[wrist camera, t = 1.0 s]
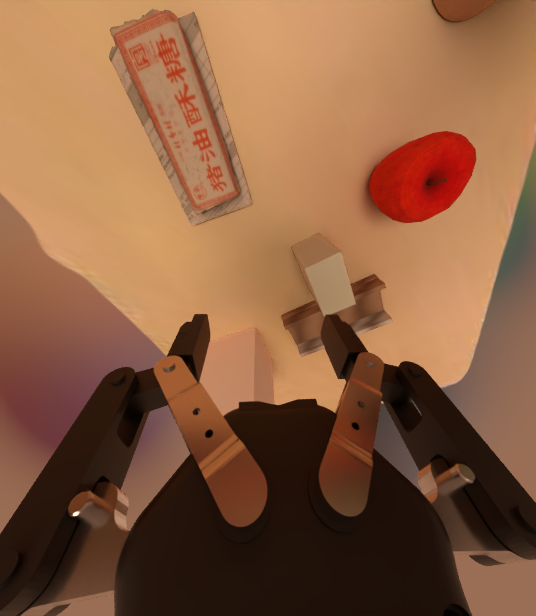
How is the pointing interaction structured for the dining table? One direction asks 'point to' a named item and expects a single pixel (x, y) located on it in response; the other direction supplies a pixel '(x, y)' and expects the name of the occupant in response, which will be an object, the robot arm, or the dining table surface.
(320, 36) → the dining table surface
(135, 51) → the packaged product
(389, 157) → the apple
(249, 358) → the milk
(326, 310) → the carton
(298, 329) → the wooden tray
